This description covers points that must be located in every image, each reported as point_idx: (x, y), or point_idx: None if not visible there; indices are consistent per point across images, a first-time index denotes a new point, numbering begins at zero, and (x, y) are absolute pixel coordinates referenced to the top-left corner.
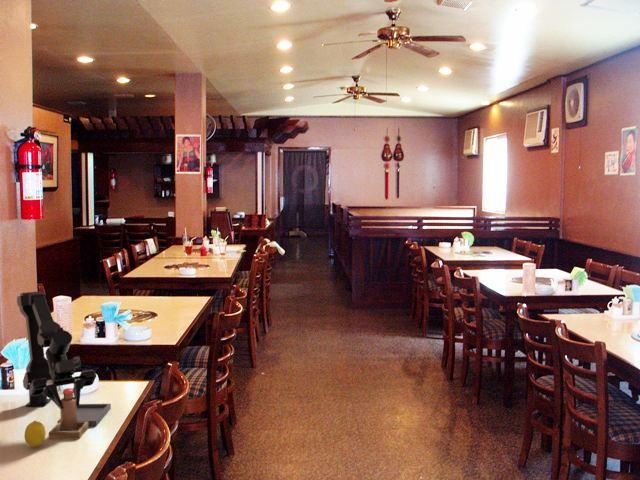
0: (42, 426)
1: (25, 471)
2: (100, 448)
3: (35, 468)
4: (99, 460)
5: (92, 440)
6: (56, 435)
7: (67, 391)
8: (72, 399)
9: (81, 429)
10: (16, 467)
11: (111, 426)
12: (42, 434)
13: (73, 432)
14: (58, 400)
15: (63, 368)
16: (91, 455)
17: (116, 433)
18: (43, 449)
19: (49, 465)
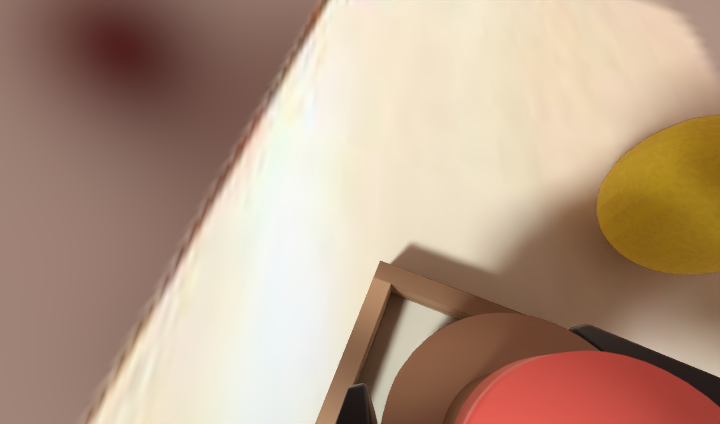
0: (664, 148)
1: (599, 8)
2: (296, 116)
3: (564, 20)
4: (320, 18)
5: (315, 222)
6: None
7: (613, 356)
8: (447, 411)
9: (361, 311)
10: (653, 47)
11: (160, 420)
12: (625, 154)
13: (416, 274)
14: (702, 377)
15: None
16: (343, 64)
17: (175, 274)
18: (572, 195)
19: (510, 29)
